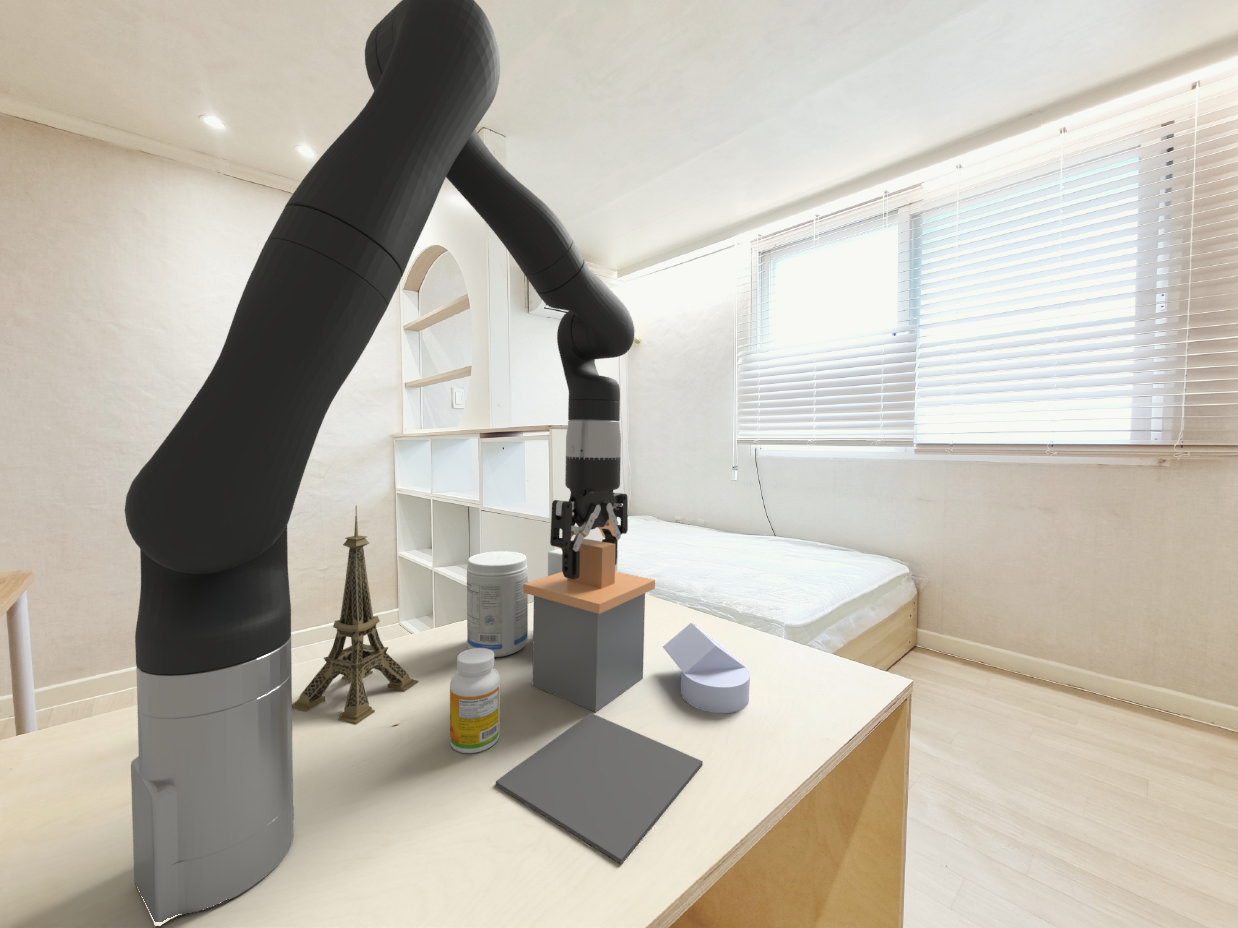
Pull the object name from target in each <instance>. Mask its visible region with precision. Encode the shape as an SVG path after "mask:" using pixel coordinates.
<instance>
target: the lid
mask: <svg viewBox="0 0 1238 928" xmlns="http://www.w3.org/2000/svg"><path fill="white" fill-rule="evenodd" d="M573 540H574V539H571V541H573ZM615 545H616V544H613V543H607V542H602V540H601V541H600V540H594V539H588V538H584V539H583V541H582V543H581V545H580V548H579V550H578V551H580V572H579V578H577V579H569V578H566V577H564V575H563V572H560V573H557V574H553V575H550V576H548V575H547V576H544V577H542V578H538V579H535V580H532V581H529V582H528V583H525V584H523V593H527V594H528V595H531V596H533V597H534V596H537V597H541V598H544V599H548V600H551V601H555V602H559V603H562V604H566V605H569V606H573V607H576V608H580V609H584V610H587V611H591V612H594V613H598V614H600V613H603V612H605V611H607V610H609V609H611V608H613V607H616V606H618V605H620V604H622V603H624V602H626V601H629V600H631V599H633V598H635V597H637V596H639V595H642V594H644V593H645V594H646V593H648V592H649V591H652V590H655V589H656V580H655V579H651V578H648V577H642V576H638V575H633V574H629V573H623V572H621V571H619V572H618V571H617V572H615Z"/></svg>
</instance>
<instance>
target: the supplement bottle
mask: <svg viewBox="0 0 1238 928" xmlns="http://www.w3.org/2000/svg"><path fill="white" fill-rule="evenodd" d="M500 718H501V677H500V672H499V671H498V670H497V669H495V657H494V652H493V651H492V650H490V649H486V648H473V649H469V648H468V649H466V650H464V651H461V652H459V654H458V655H457V658H456V673H455V674H454V675H453V676H451V679H450V682H449V743H450V746H451V747H452V749H453V750H455V751H457V752H459V753H462V754H463V753H464V754H473V753H474V754H475V753H480V752H483V751H485V750H486V751H487V749H489V748H491V747H493V746H494V745H495V744H496V743H497V741H498V740H499V737H500V728H501V727H500V725H501V724H500V722H501V721H500V720H501V719H500Z"/></svg>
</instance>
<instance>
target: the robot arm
mask: <svg viewBox="0 0 1238 928" xmlns="http://www.w3.org/2000/svg"><path fill="white" fill-rule="evenodd" d="M364 64H365V69H366V74H367V77H368V80H369V82H370V84H371V87H372V89H373V92H372V94H371V96H370V98H369V99H368V100H367V102H366V104H365V106H364V107H363V108H362V110H361V111H360V112H359V114H358V115H357V116H356V117H355V118H354V119H353V121H351V123H349V125H348V126H347V127H346V129H344V131H342V133H341V134H339V136H337V138H336V139H335V140H334V141H333V142H332V144H331V145H330V146H328V148H327V149H326V150H325V152H324V153H323V154H322V155H321V156H320V157H319V158H318V160H317V161H316V162H315V163H314V165H313V166H312V167H311V169H310V170H309V171H308V172H307V174H305V176H304V178H303V179H302V180H301V182H300V183H299V185H298V186H297V188H296V189H295V190H294V192H293V194H292V195H291V196H290V198H289V199H288V201H287V203H285V206H284V207H283V210H282V212H281V213H280V215H279V216H278V219H277V221H276V222H275V224H274V226H273V228H272V229H271V232H270V234H269V235H268V236H267V239H266V241H265V243H264V245H263V247H262V249H261V251H260V254H259V255H258V257H257V260H256V262H255V264H254V267H253V268H252V271H251V273H250V275H249V276H248V279H247V282H246V285H245V286H244V289H243V291H242V294H241V296H240V299H239V302H238V304H237V307H236V310H235V312H234V315H233V317H232V322H231V323H230V326H229V330H228V332H227V334H226V335H227V336H226V339H225V341H224V344H223V347H222V349H221V351H220V354H219V356H218V358H217V359H216V362H215V364H214V366H213V368H212V370H211V371H210V373H209V374H208V376H207V378H206V379H205V381H204V383H203V384H202V386H201V387H200V389H199V390H198V392H197V394H196V395H195V396H194V398H193V399H192V400H191V402H190V404H189V405H188V406H187V408H186V409H185V411H184V412H183V414H182V415H181V417H180V419H179V420H178V421H177V423H176V424H175V425H174V427H173V428H172V429H171V430H170V432H169V433H168V435H167V436H166V437H165V439H164V440H163V442H162V443H161V444H160V445H159V446H158V448H157V449H156V451H155V452H154V453H153V455H152V456H151V457H150V458H149V460H148V461H146V463H145V464H144V466H142V468H141V469H140V471H138V473H137V475H136V476H135V477H134V478H133V480H132V482H131V484H130V486H129V488H128V491H127V493H126V497H125V504H124V516H125V524H126V526H127V529H128V531H129V534H130V536H131V538H132V540H133V541H134V542H135V544H136V546H138V548H139V549H140V551H139V552H140V554H139V556H140V558H139V559H140V595H139V603H138V604H139V605H138V611H137V613H138V614H137V621H136V627H135V636H134V637H135V638H134V639H135V641H134V642H135V645H134V646H135V665H136V669H135V670H136V694H137V695H136V699H137V732H138V733H137V738H138V740H137V741H138V743H137V744H138V756H137V757H135V758H134V759H133V760H132V761H131V762H130V763H131V764H130V781H131V783H130V785H131V786H130V787H131V808H132V809H131V811H132V812H131V813H132V815H131V816H132V818H131V819H132V846H133V847H132V851H133V882H134V881H135V883H134V885H135V884H136V885H137V887H138V889H139V891H140V894H141V896H142V897H143V899H144V901H145V903H146V905H147V907H148V909H149V911H150V913H151V915H152V917H153V919H154V921H155V922H163V921H164V920H166V919H167V918H171V917H173V916H175V915H178V914H185V915H187V914H186V913H189V914H193V913H197V912H200V911H199V910H202V911H204V910H203V909H205V910H207V909H206V908H207V907H210V908H213V907H214V906H213V905H216V904H219V903H220V902H223V901H225V900H226V899H229V900H231V899H233V898H236V897H237V896H239V895H241V894H242V893H244V892H246V891H247V890H249V889H251V888H252V887H254V886H255V885H256V884H258V883H259V882H260V881H261V880H264V878H266V876H268V875H269V874H270V873H271V872H272V871H273V870H274V869H275V868H276V867H278V865H279V864H280V862H281V861H282V860H283V859H284V858H285V856H286V855H287V853H288V852H289V850H290V848H291V845H292V842H293V839H294V820H295V819H294V818H295V807H294V771H293V770H294V768H293V767H294V765H293V762H294V760H293V756H294V755H293V754H294V753H293V751H294V750H293V709H292V704H293V694H292V693H293V690H292V689H293V688H292V687H293V686H292V684H293V683H292V682H293V681H292V679H293V677H292V676H293V675H292V668H293V667H292V664H293V663H292V605H291V604H292V603H291V595H290V592H291V591H290V580H289V567H288V566H289V562H288V560H289V558H288V557H289V555H288V552H289V550H288V545H289V544H288V525H289V522H290V518H291V516H292V512H293V509H294V507H295V506H294V505H295V503H296V499H297V496H298V492H299V489H300V485H301V483H302V480H303V476H304V474H305V472H306V471H305V470H306V467H307V464H308V462H309V459H310V456H311V454H312V451H313V448H314V446H315V443H316V439H317V438H318V434H319V432H320V429H321V427H322V425H323V421H324V420H325V416H326V414H327V413H328V410H329V408H330V406H331V404H332V403H333V401H334V399H335V397H336V395H337V394H338V392H339V390H340V389H341V388H342V386H343V385H344V383H345V382H346V380H347V379H348V377H349V376H350V373H352V371H353V369H354V368H355V367H356V364H357V363H358V361H359V360H360V358H361V356H362V354H363V353H364V351H365V349H366V348H367V346H368V344H369V342H370V340H372V338H373V335H374V333H375V331H376V330H377V328H378V326H379V324H380V321H381V320H382V318H383V317H384V315H385V313H386V311H387V310H388V307H389V305H390V303H391V301H392V298H393V296H394V294H395V292H396V291H397V289H398V287H399V284H400V282H401V280H402V277H403V275H404V273H405V272H406V269H407V266H408V264H409V261H410V258H412V257H411V256H412V254H413V252H414V250H415V248H416V246H417V244H418V241H419V239H420V237H421V235H422V232H423V230H424V228H425V226H426V225H427V222H428V220H429V217H430V215H431V213H432V210H433V208H434V206H435V203H436V202H437V198H438V196H439V194H440V191H441V189H442V187H443V184H444V182H445V180H446V179H447V180H448V181H449V182H450V183H451V185H452V186H453V187H454V188H455V189H456V190H457V191H458V192H459V194H460V195H461V196H462V197H463V198H464V199H465V200H466V201H467V202H468V203H469V205H470V206H471V207H472V208H473V209H474V211H475V212H476V213H477V214H478V215H479V216H480V218H481V219H482V220H483V221H484V222H485V223H486V224H487V225H488V226H489V228H490V229H491V230H492V232H493V233H494V234H495V236H496V237H497V238H498V239H499V241H500V242H501V243H502V244H503V246H504V247H505V249H506V250H507V251H508V253H509V254H510V256H511V257H512V258H513V260H514V261H515V262H516V264H517V265H518V267H519V269H520V270H521V272H522V273H523V275H524V276H525V277H526V279H527V280H528V282H529V283H530V285H531V286H532V288H533V290H534V291H535V292H536V293H537V295H538V296H539V297H540V299H541V300H542V301H543V303H544V304H545V305H546V306H548V307H550V308H552V309H557V310H564V311H566V313H564V315H563V316H562V318H561V319H560V321H559V324H558V327H557V332H556V333H557V334H556V335H557V336H556V341H557V348H558V352H559V357H560V361H561V365H562V368H563V373H564V378H565V381H566V385H567V386H566V387H567V389H568V399H567V400H568V403H567V404H568V407H567V410H568V413H567V419H568V421H567V428H566V429H567V430H566V435H565V477H564V478H565V481H564V482H565V483H564V484H565V487H566V488H567V489H569V492H570V494H569V499H568V500H558V499H554V500H553V501H552V503H551V517H550V519H551V521H550V537H549V539H550V541H549V542H550V543H549V544H550V546H551V547H556V548H557V549H562V572H563V575H564V577H566V578H569V579H577V578H579V572H580V551H578V550H579V548H580V545H581V543H582V541H583V539H585V538H586V537H588V536H589V535H590V532H591V530H595V529H599V531H600V534H601V536H602V539H601V542H607V543H613V544H616V545H615V565H616V564H617V565H618V562H617V550H618V542H619V540H620V539H621V535H623V534H624V535H626V534H628V529H629V524H628V523H629V522H628V521H629V520H628V513H629V511H628V510H629V509H628V508H629V507H628V494H627V493H622V492H614V491H617V490H618V489H620V486H621V459H622V458H621V457H622V456H621V455H622V453H621V451H622V449H621V448H622V435H621V426H620V425H621V423H620V421H621V419H620V418H621V416H620V414H621V411H620V410H621V388H620V384H619V383H618V381H617V380H616V379H614V378H612V377H609V376H604V375H599V373H598V370H597V366H596V362H595V361H596V360H602V359H613V358H618V357H621V356H624V355H625V354H626V353H628V352H629V350H631V347H633V344H634V341H635V340H634V339H635V325H634V320H633V318H632V316H631V314H630V312H629V310H628V308H627V307H626V306H625V303H624V302H623V301H622V300H620V298H619V296H617V295H616V294H615V293H614V292H613V291H612V290H611V289H610V288H609V287H608V286H607V285H606V284H605V282H603V280H602V279H601V278H600V277H598V275H596V274H595V273H594V272H593V271H592V270H591V269H590V267H589V266H588V264H587V263H586V261H585V259H584V258H583V256H582V254H581V253H580V250H579V248H578V247H577V245H576V243H575V241H574V240H573V238H572V236H571V235H570V233H569V231H568V229H567V228H566V226H565V225H564V223H563V222H562V221H561V219H559V217H558V216H557V215H556V214H555V213H554V211H553V210H551V208H550V207H549V206H548V205H547V204H546V203H545V202H544V201H543V200H542V199H540V198H539V197H538V196H537V195H535V194H534V192H532V191H531V190H529V188H527V187H526V186H525V185H524V184H523V183H522V182H520V181H519V180H518V179H517V178H516V177H515V176H514V175H513V174H511V173H510V172H509V171H508V170H507V169H506V167H504V166H503V164H501V162H499V160H498V159H497V158H496V157H495V156H494V155H493V154H492V152H491V151H490V150H489V148H488V147H487V145H486V144H485V143H484V141H483V140H482V138H481V137H480V135H479V133H478V132H477V130H476V128H478V125H479V124H480V122H481V121H482V119H483V117H484V116H485V115H486V113H487V112H488V111H489V108H490V107H491V105H492V103H493V102H494V99H495V97H496V95H497V91H498V87H499V84H500V77H501V60H500V51H499V45H498V41H497V38H496V35H495V31H494V29H493V27H492V25H491V22H490V21H489V19H488V16H487V15H486V13H485V12H484V10H483V9H482V7H481V6H480V5H479V4H478V3H477V1H476V0H401V1H399V2H398V4H396V5H395V6H394V7H393V8H392V9H391V10H390V11H389V12H388V13H387V14H386V15H385V16H384V17H383V18H382V19H381V20H380V21H379V22H378V23H376V25H375V26H374V27H373V29H372V30H371V31H370V33H369V35H368V37H367V39H366V42H365V48H364ZM618 518H619V519H620V524H619V521H618ZM560 531H561V532H562V533H560ZM560 534H561V537H560ZM573 536H574V538H573ZM572 538H573V539H572ZM572 540H573V541H572ZM136 885H135V886H136ZM137 887H136V888H137ZM138 889H137V890H138ZM139 891H138V892H139ZM140 894H139V895H140ZM141 896H140V897H141ZM225 902H226V901H225ZM223 903H224V902H223ZM219 905H220V904H219ZM212 906H213V907H212ZM216 906H217V905H216ZM194 911H195V912H194ZM192 912H193V913H192Z"/></svg>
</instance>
